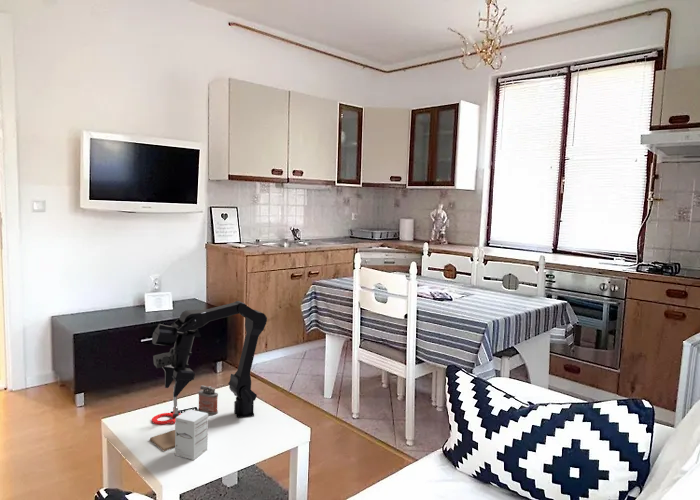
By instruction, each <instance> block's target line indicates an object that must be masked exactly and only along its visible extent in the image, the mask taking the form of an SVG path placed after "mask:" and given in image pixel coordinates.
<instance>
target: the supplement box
mask: <svg viewBox="0 0 700 500" xmlns="http://www.w3.org/2000/svg"><path fill="white" fill-rule="evenodd" d="M174 424H175V426H174V427H175V429H174V430H175V448H174V456H175V457H176V456H177V457H180V458H186V459H189V460H192V461H195V460H196V459H197V458H199V457H200V456H201V455H203V454H204V453H206V452H207V451H208V438H209V437H208V435H209V434H208V432H209V431H208V430H209V429H208V428H209V414H208V413H204V412H200V411H198V410H194V409H188V410H185V411H183V412H182V413H181V414H180V415H179V416H177V417H176V418H175V423H174Z"/></svg>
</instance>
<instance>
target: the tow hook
mask: <svg viewBox="0 0 700 500" xmlns="http://www.w3.org/2000/svg"><path fill="white" fill-rule="evenodd" d="M174 386H175V385H173V388H174ZM173 394H174V391H172V395H173ZM172 397H173V399H172V401H173V407H172V412H164V413H159V414H156V415H154V416H153V417H152V419H151V423H152V424H155V425H167V424H171V425H174V424H175V418H176V417H177V416H179V415H180V414H182V413H181V412H179V406H178V396H177V397H174V396H172ZM164 417H171V418H170V419H165V420H158V419H160V418H164Z"/></svg>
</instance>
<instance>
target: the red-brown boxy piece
mask: <svg viewBox="0 0 700 500" xmlns="http://www.w3.org/2000/svg"><path fill="white" fill-rule="evenodd" d="M199 389H200V390H198V394H197V395H198V408H197V411H200V412H204V413H208V415H211V416H215V415H218V413H219V411H218V398H219V393H218V392H216V388H215V387H212V386H211V385H209V386H207V385H200V386H199Z"/></svg>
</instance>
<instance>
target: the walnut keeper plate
mask: <svg viewBox="0 0 700 500" xmlns="http://www.w3.org/2000/svg"><path fill="white" fill-rule="evenodd" d="M149 441H150V442H151V443H153V445H155V446H157V447H158V448H159V449H161V450H162V451H163V452H166V451H169V450H172V449H175V429H174V430H170V431H167V432H164V433H161V434H157V435H154V436H151V437H150V438H149Z"/></svg>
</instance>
